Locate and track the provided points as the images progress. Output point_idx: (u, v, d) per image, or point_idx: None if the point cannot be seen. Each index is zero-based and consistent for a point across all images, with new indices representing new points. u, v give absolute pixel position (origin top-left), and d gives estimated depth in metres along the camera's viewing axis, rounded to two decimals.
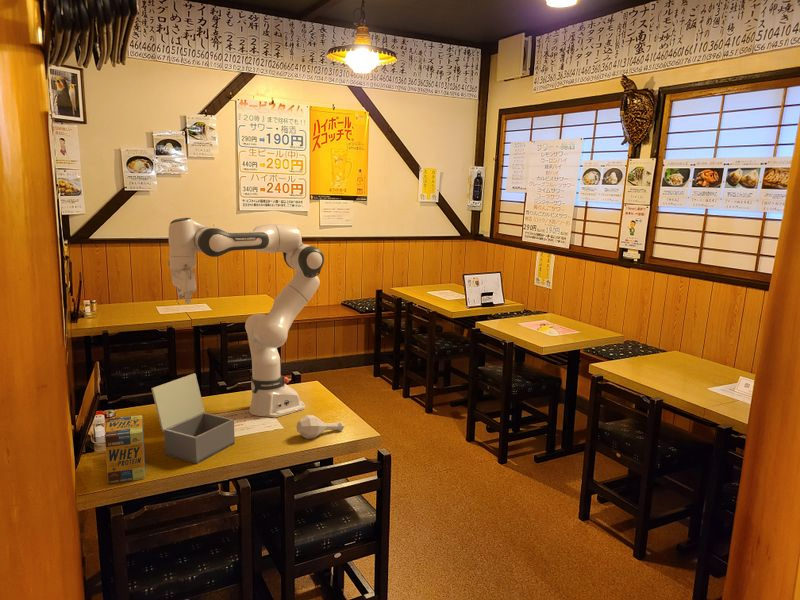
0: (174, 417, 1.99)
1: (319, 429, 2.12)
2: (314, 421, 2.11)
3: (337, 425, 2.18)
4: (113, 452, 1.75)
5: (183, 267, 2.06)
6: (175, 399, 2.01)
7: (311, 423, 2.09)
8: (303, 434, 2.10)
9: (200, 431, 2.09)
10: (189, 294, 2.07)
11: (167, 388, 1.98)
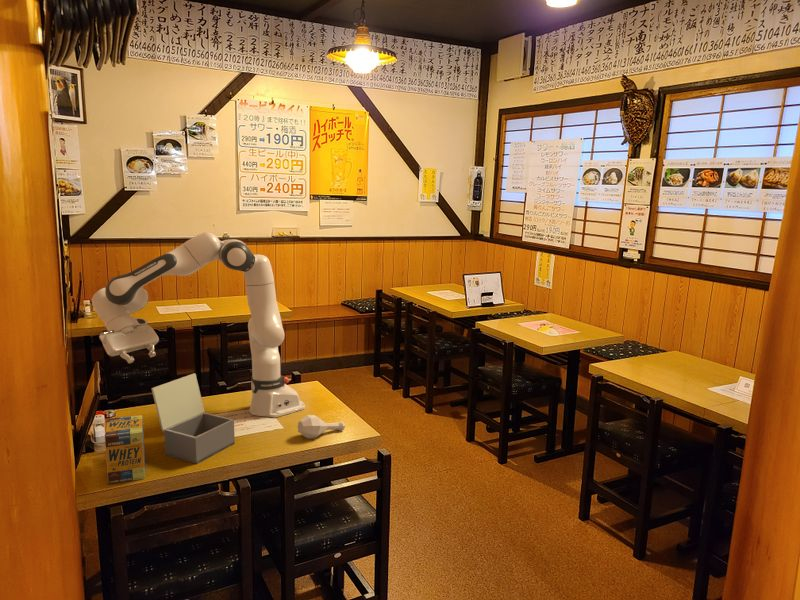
0: (174, 417, 1.99)
1: (321, 429, 2.12)
2: (316, 421, 2.11)
3: (338, 425, 2.18)
4: (113, 452, 1.75)
5: None
6: (175, 399, 2.01)
7: (312, 423, 2.10)
8: (304, 434, 2.10)
9: (200, 431, 2.09)
10: (122, 354, 2.02)
11: (167, 388, 1.98)
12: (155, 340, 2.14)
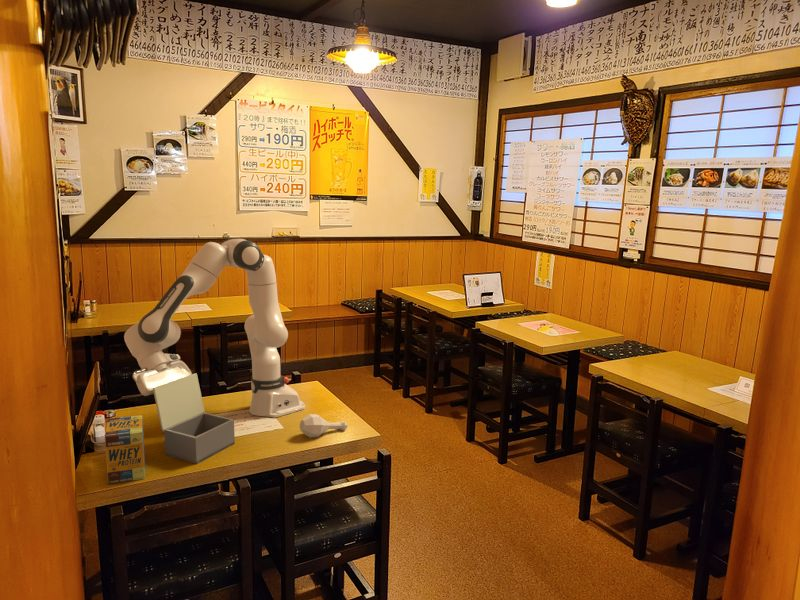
0: (175, 417, 1.99)
1: (322, 428, 2.13)
2: (317, 420, 2.12)
3: (340, 424, 2.19)
4: (113, 452, 1.75)
5: None
6: (176, 399, 2.00)
7: (314, 422, 2.10)
8: (306, 433, 2.11)
9: (200, 431, 2.09)
10: None
11: (168, 388, 1.98)
12: None
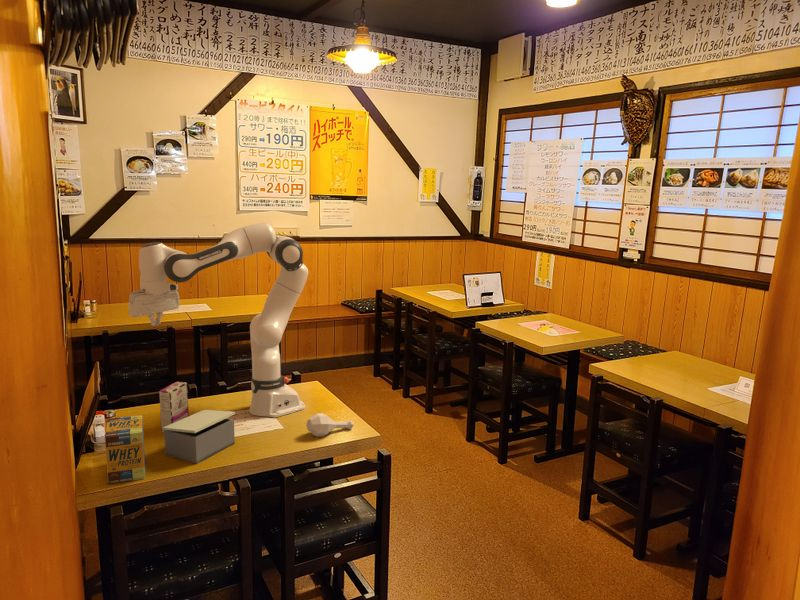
0: None
1: (329, 427, 2.14)
2: (324, 419, 2.13)
3: (347, 423, 2.20)
4: (113, 452, 1.75)
5: None
6: None
7: (320, 421, 2.11)
8: (313, 432, 2.12)
9: (200, 431, 2.09)
10: (150, 316, 2.10)
11: None
12: (174, 308, 2.18)
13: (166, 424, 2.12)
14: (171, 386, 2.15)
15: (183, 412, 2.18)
